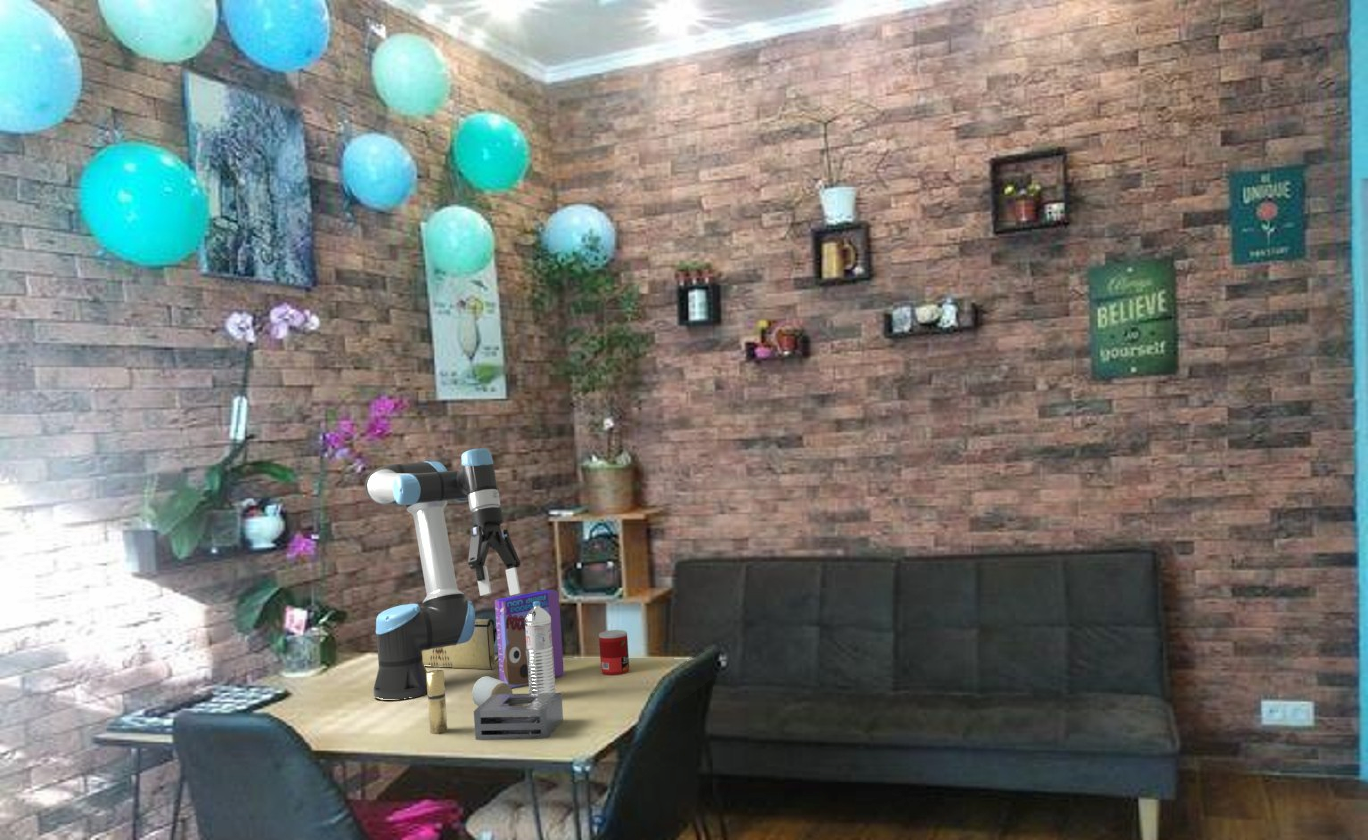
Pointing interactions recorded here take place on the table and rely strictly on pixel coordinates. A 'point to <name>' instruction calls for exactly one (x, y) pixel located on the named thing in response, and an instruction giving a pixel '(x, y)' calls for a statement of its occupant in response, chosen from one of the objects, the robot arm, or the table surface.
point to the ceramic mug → (488, 689)
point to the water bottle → (539, 650)
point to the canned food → (614, 652)
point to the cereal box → (524, 634)
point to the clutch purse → (467, 650)
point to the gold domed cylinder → (436, 701)
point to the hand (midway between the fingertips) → (501, 594)
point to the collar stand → (518, 716)
